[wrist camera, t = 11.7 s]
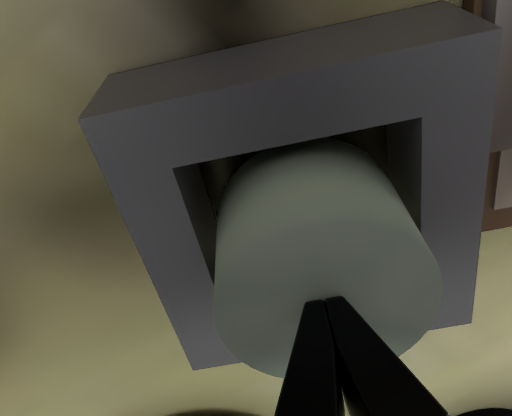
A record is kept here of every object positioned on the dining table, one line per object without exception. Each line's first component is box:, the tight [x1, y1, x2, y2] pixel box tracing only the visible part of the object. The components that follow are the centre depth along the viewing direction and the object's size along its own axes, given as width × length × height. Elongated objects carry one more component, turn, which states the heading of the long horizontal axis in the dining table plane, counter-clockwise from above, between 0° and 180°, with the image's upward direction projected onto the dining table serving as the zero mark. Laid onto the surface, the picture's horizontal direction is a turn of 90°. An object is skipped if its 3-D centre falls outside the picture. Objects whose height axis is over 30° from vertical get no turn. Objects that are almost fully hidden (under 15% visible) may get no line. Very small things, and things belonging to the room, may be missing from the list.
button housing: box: [78, 1, 503, 370], centre depth 13 cm, size 9×9×3 cm
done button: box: [213, 138, 443, 378], centre depth 11 cm, size 5×5×4 cm
